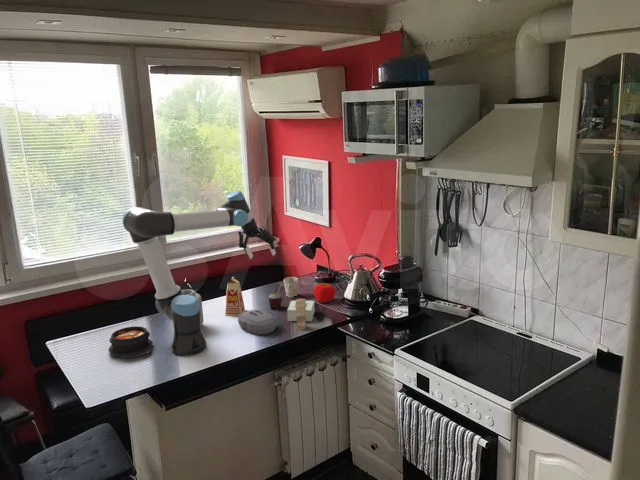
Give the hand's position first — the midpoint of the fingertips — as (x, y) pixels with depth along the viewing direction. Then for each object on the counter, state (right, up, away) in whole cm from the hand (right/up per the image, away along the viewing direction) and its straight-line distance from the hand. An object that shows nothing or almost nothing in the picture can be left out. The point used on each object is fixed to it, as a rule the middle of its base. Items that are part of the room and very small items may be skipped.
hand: (262, 256), depth 263 cm
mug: (+13, -25, +31) cm, 41 cm away
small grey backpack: (-1, -35, -13) cm, 38 cm away
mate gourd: (+6, -29, +14) cm, 32 cm away
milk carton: (-16, -30, +9) cm, 35 cm away
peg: (+20, -34, -14) cm, 42 cm away
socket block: (+20, -31, 0) cm, 37 cm away
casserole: (-55, -41, -33) cm, 76 cm away
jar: (-38, -35, -11) cm, 53 cm away
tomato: (+32, -26, +22) cm, 47 cm away
